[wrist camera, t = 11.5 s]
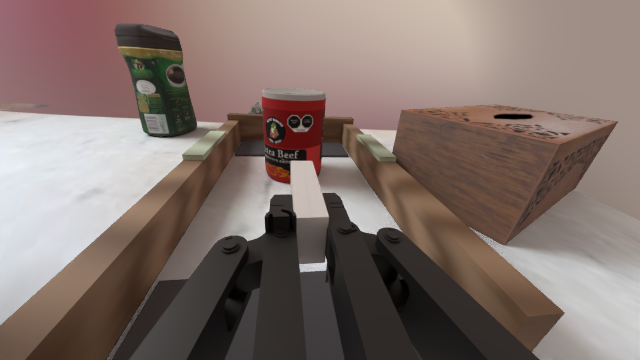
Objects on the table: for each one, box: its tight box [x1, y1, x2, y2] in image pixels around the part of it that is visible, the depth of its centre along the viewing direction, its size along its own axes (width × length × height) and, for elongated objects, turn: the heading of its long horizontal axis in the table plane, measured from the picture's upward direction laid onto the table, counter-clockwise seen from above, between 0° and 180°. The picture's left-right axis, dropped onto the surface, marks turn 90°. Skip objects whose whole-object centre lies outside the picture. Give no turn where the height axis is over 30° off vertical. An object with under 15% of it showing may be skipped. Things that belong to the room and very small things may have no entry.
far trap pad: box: [235, 141, 348, 157], centre depth 41 cm, size 8×19×1 cm, turn 97°
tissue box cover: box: [392, 105, 618, 245], centre depth 31 cm, size 26×14×10 cm, turn 123°
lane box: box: [0, 113, 564, 360], centre depth 28 cm, size 40×24×5 cm, turn 7°
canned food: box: [262, 88, 326, 183], centre depth 30 cm, size 8×8×11 cm
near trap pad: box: [112, 271, 423, 360], centre depth 14 cm, size 6×19×1 cm, turn 97°
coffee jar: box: [115, 24, 197, 137], centre depth 43 cm, size 10×8×19 cm
